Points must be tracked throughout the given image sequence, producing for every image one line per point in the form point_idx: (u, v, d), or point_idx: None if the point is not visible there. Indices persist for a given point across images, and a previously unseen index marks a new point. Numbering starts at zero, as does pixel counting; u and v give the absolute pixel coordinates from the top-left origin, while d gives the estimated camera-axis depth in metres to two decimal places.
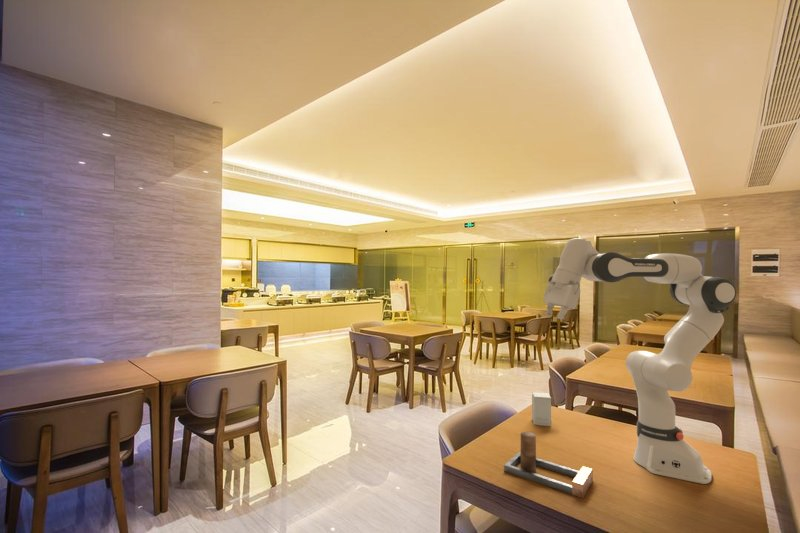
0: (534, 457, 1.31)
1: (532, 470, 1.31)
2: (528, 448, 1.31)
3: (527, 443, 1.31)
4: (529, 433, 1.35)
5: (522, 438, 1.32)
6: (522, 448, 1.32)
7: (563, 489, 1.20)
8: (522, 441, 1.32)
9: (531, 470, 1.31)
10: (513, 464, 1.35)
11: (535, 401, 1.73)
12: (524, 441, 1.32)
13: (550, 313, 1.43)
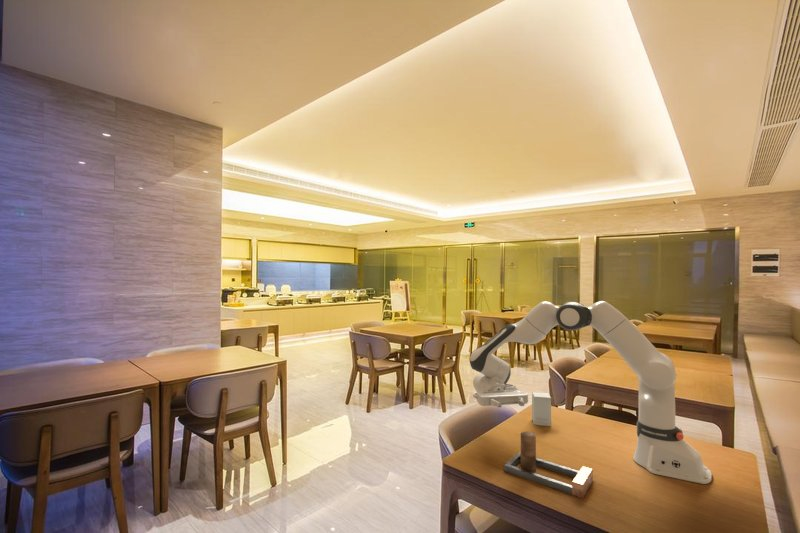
0: (534, 457, 1.31)
1: (532, 470, 1.31)
2: (528, 448, 1.31)
3: (527, 443, 1.31)
4: (529, 433, 1.35)
5: (522, 438, 1.32)
6: (522, 448, 1.32)
7: (563, 489, 1.20)
8: (522, 441, 1.32)
9: (531, 470, 1.31)
10: (513, 464, 1.35)
11: (535, 401, 1.73)
12: (524, 441, 1.32)
13: (519, 402, 1.47)
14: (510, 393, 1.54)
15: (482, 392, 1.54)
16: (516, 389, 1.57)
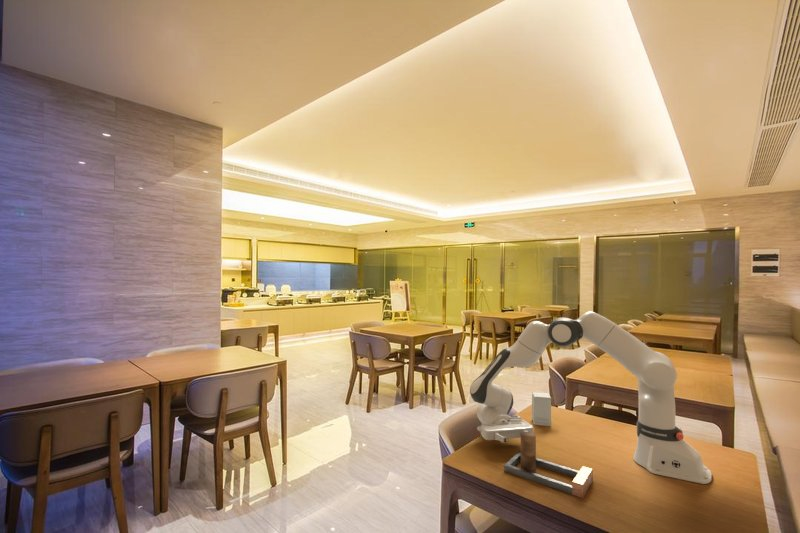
0: (534, 457, 1.31)
1: (532, 470, 1.31)
2: (528, 448, 1.31)
3: (527, 443, 1.31)
4: (530, 433, 1.35)
5: (522, 438, 1.32)
6: (522, 448, 1.32)
7: (563, 489, 1.20)
8: (522, 441, 1.32)
9: (531, 470, 1.31)
10: (513, 464, 1.35)
11: (535, 401, 1.73)
12: (524, 441, 1.32)
13: None
14: (515, 425, 1.50)
15: (486, 424, 1.51)
16: (521, 421, 1.53)
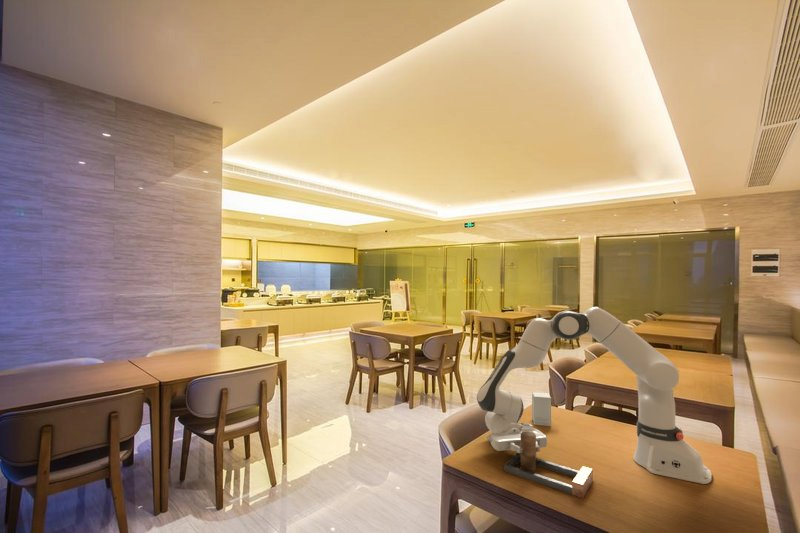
0: (534, 457, 1.31)
1: (532, 470, 1.31)
2: (528, 448, 1.31)
3: (527, 443, 1.31)
4: (530, 433, 1.35)
5: (522, 438, 1.32)
6: None
7: (563, 489, 1.20)
8: (522, 441, 1.32)
9: (531, 470, 1.31)
10: (513, 464, 1.35)
11: (535, 401, 1.73)
12: (524, 441, 1.32)
13: None
14: None
15: (496, 433, 1.42)
16: (533, 430, 1.44)
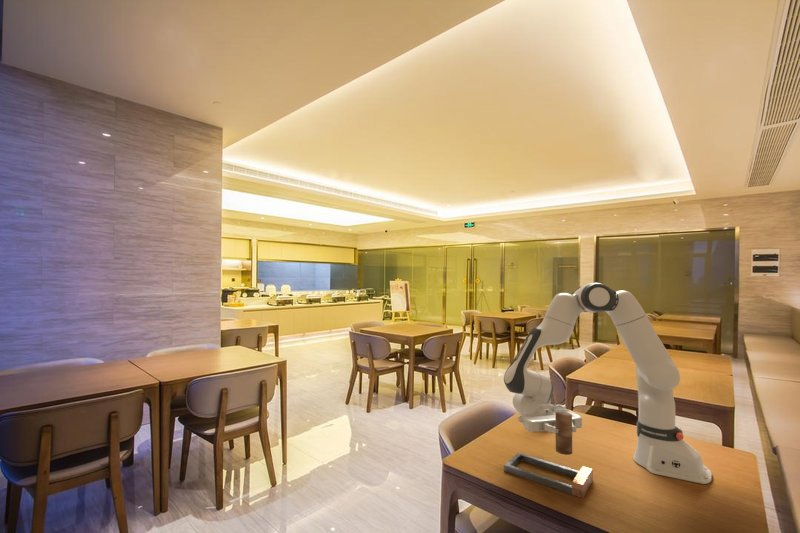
0: (571, 437, 1.24)
1: (569, 451, 1.24)
2: (564, 428, 1.24)
3: (564, 423, 1.24)
4: (565, 412, 1.28)
5: (557, 418, 1.25)
6: (558, 428, 1.25)
7: (563, 489, 1.20)
8: (558, 421, 1.25)
9: (568, 451, 1.24)
10: (513, 464, 1.35)
11: None
12: (560, 420, 1.25)
13: None
14: None
15: (528, 414, 1.34)
16: (566, 411, 1.37)
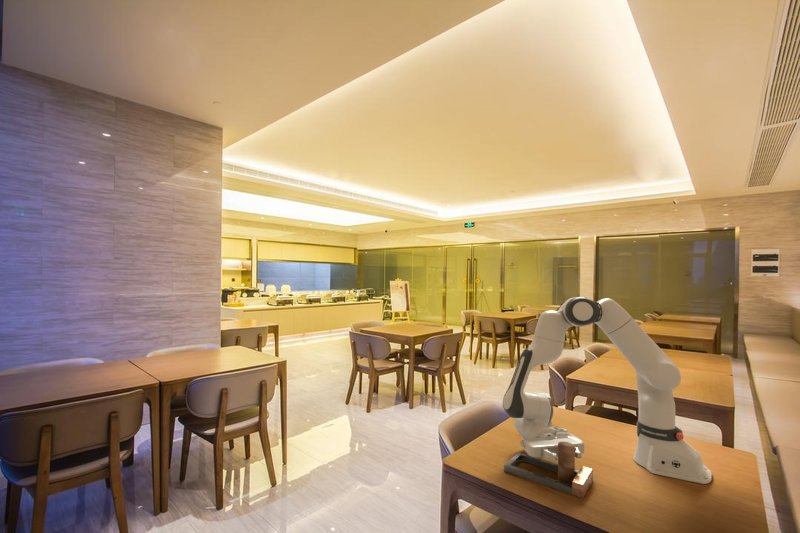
0: (573, 469, 1.24)
1: (571, 483, 1.23)
2: (567, 459, 1.23)
3: (566, 454, 1.23)
4: (567, 443, 1.27)
5: (560, 449, 1.25)
6: (560, 459, 1.25)
7: (563, 489, 1.20)
8: (560, 452, 1.25)
9: (570, 483, 1.23)
10: (513, 464, 1.35)
11: None
12: (563, 452, 1.24)
13: (575, 454, 1.26)
14: (563, 440, 1.33)
15: (530, 439, 1.34)
16: (569, 435, 1.36)
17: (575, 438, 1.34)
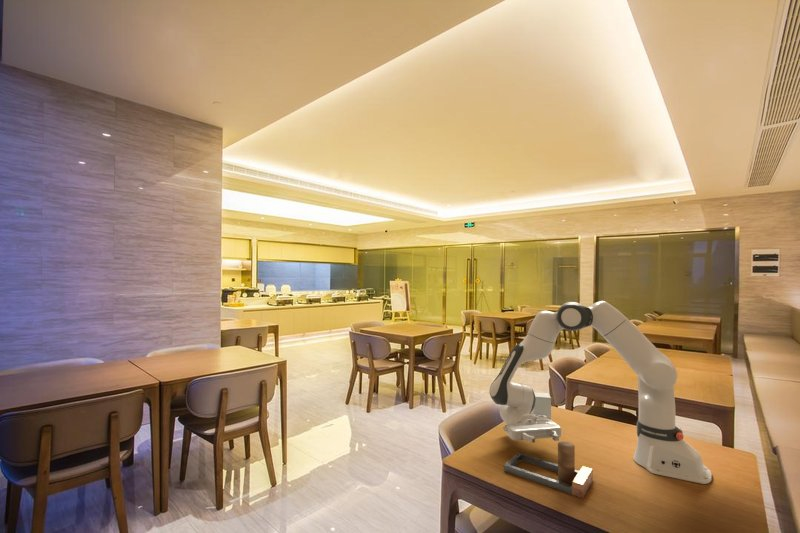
0: (573, 469, 1.24)
1: (571, 483, 1.23)
2: (567, 459, 1.23)
3: (566, 454, 1.23)
4: (567, 443, 1.27)
5: (560, 449, 1.25)
6: (560, 459, 1.25)
7: (563, 489, 1.20)
8: (560, 452, 1.25)
9: (570, 483, 1.23)
10: (513, 464, 1.35)
11: None
12: (563, 452, 1.24)
13: (553, 437, 1.39)
14: (542, 425, 1.46)
15: (512, 424, 1.47)
16: (548, 420, 1.49)
17: (553, 423, 1.47)
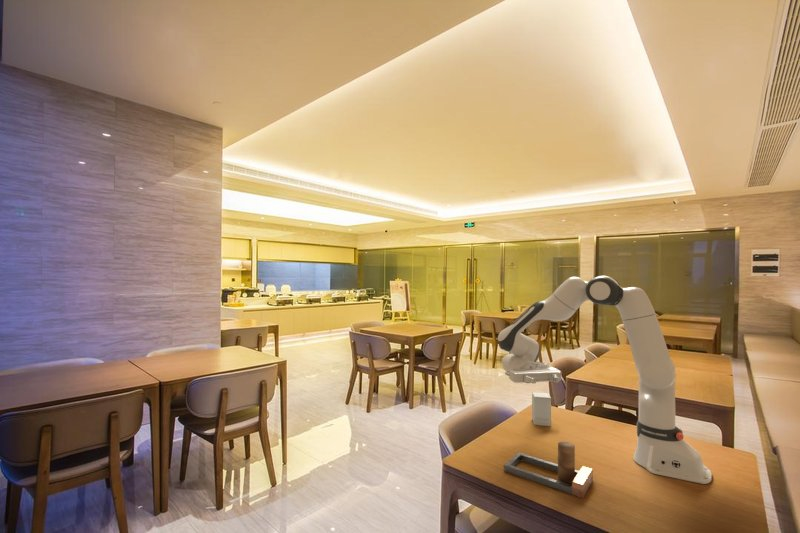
0: (573, 469, 1.24)
1: (571, 483, 1.23)
2: (567, 459, 1.23)
3: (566, 454, 1.23)
4: (567, 443, 1.27)
5: (560, 449, 1.25)
6: (560, 459, 1.25)
7: (563, 489, 1.20)
8: (560, 452, 1.25)
9: (570, 483, 1.23)
10: (513, 464, 1.35)
11: (535, 401, 1.73)
12: (563, 452, 1.24)
13: (554, 379, 1.45)
14: (543, 370, 1.51)
15: (514, 369, 1.52)
16: (548, 367, 1.55)
17: (554, 369, 1.53)
